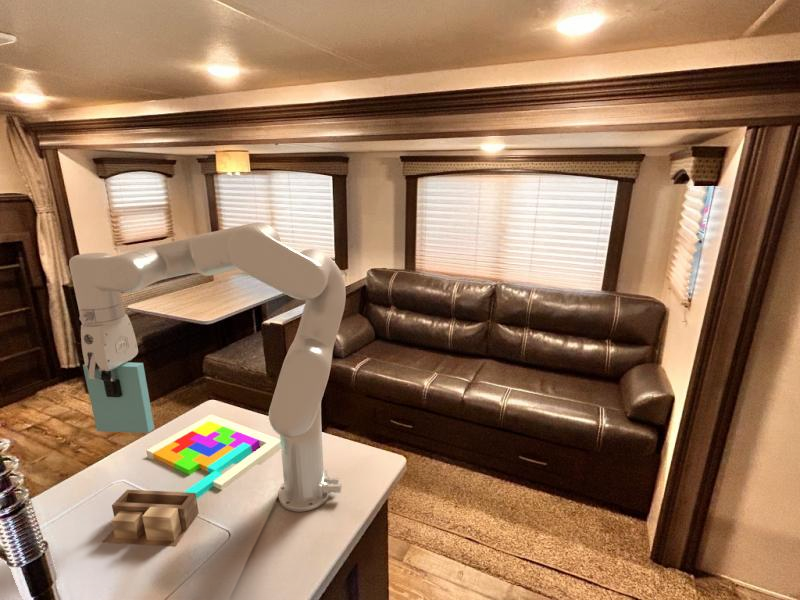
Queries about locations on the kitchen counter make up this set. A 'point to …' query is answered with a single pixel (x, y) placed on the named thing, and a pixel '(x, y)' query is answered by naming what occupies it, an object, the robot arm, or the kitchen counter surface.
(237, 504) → the kitchen counter surface
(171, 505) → the rack
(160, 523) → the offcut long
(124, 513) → the offcut short
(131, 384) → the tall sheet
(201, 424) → the puzzle game
